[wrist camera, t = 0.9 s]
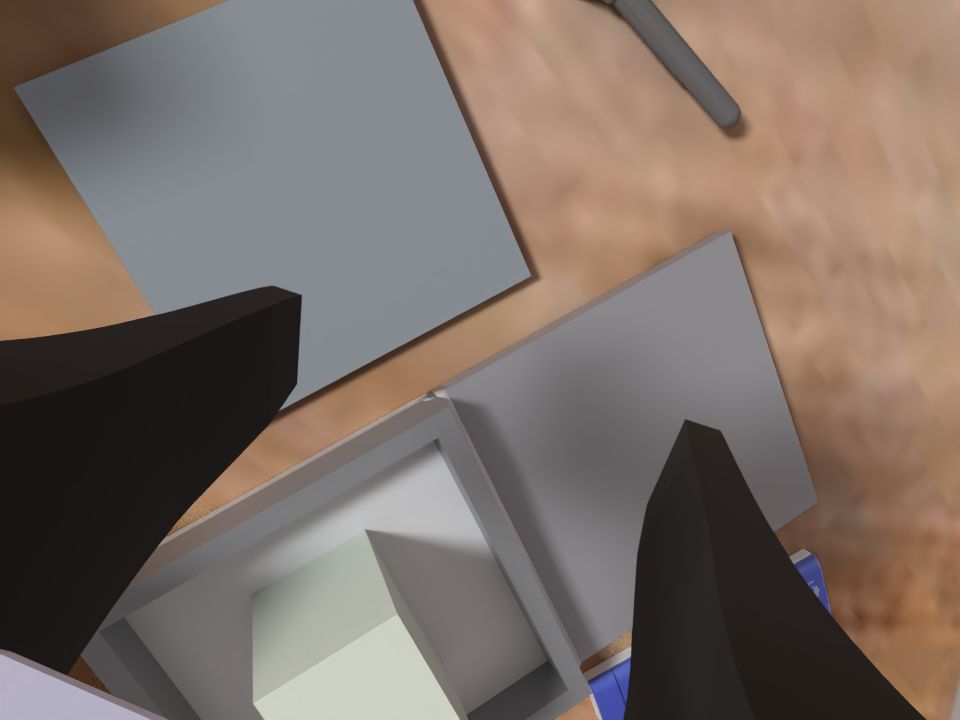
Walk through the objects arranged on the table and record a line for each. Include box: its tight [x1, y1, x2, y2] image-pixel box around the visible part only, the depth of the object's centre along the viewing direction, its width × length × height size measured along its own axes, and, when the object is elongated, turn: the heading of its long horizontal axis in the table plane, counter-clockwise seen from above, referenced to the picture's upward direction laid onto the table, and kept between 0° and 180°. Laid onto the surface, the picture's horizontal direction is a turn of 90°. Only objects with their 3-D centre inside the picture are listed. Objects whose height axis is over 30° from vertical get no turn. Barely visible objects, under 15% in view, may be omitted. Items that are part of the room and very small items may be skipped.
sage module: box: [252, 529, 468, 720], centre depth 23 cm, size 4×7×6 cm, turn 26°
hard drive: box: [583, 549, 832, 720], centre depth 33 cm, size 2×8×12 cm
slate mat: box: [13, 0, 531, 411], centre depth 23 cm, size 12×12×1 cm
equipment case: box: [80, 231, 819, 720], centre depth 27 cm, size 27×14×2 cm, turn 116°
